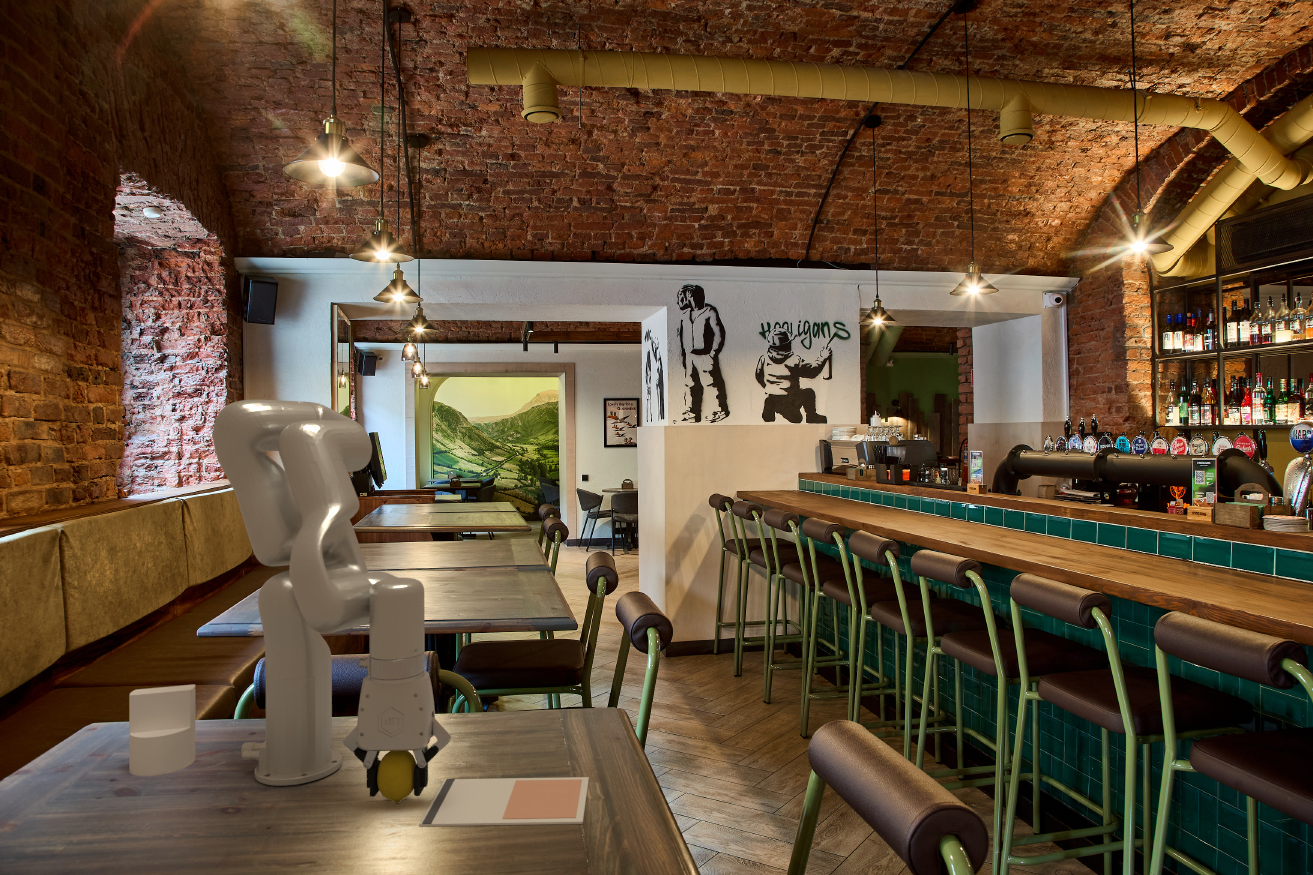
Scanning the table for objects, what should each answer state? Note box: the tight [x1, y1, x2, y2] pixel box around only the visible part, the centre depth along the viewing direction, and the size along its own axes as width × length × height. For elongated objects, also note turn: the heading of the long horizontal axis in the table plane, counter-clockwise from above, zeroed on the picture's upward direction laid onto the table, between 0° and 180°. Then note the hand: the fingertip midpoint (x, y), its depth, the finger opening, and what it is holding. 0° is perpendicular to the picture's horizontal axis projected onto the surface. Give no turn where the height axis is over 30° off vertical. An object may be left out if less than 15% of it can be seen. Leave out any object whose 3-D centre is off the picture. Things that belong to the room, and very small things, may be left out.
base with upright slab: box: [128, 684, 196, 777], centre depth 126 cm, size 9×9×12 cm
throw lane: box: [418, 776, 590, 827], centre depth 113 cm, size 22×14×1 cm, turn 92°
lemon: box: [377, 751, 417, 804], centre depth 112 cm, size 6×6×8 cm
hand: (397, 790), depth 112 cm, fingers closed on lemon, 5 cm apart
